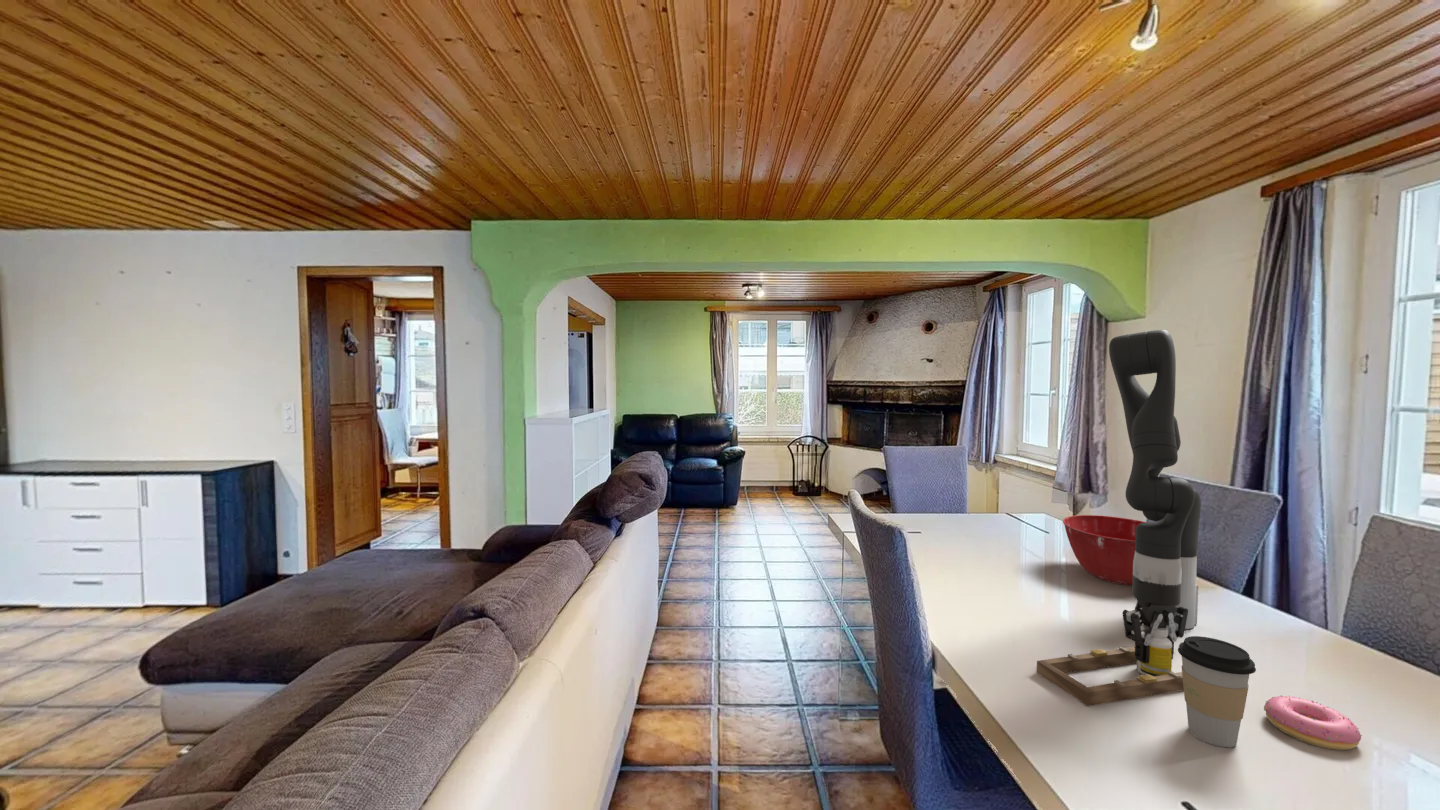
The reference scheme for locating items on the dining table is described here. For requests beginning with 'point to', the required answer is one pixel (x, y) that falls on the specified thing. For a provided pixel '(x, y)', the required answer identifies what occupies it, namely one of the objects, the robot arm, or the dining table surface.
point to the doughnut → (1312, 722)
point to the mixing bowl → (1104, 545)
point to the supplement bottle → (1157, 654)
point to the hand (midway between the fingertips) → (1154, 659)
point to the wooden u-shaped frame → (1107, 692)
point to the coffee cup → (1215, 688)
